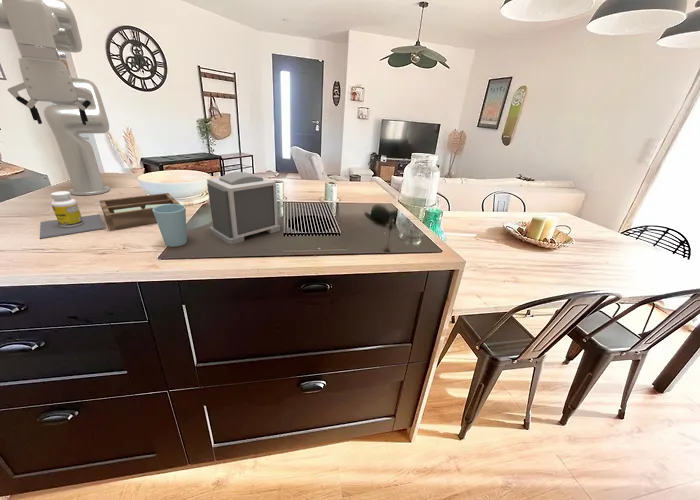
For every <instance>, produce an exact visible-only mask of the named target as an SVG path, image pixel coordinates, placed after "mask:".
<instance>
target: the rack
mask: <svg viewBox="0 0 700 500" xmlns="http://www.w3.org/2000/svg"><path fill="white" fill-rule="evenodd" d="M99 204H100V208H101V211H102V214H103V216H104V219H105V221H106V224H107V226H108V228H109V230H110V232H114V231H119V230H126V229H132V228H139V227H144V226H150V225H156V224H157V221H156V218H155V216H154V213H153V208H147V209H145V206H146V205H157V204H180V205H182V204H181V203H180V202H179V201H178V200H177V199H176V198H174V197H173V196H172V195H171V194H170V193H169V192H166V193H157V194H148V195H138V196H129V197H121V198H120V197H119V198H110V199H103V200H99ZM134 207H141V208H142V209H139V210H132V211H124V212H117V213H114V210H119V209H126V208H134ZM157 225H158V224H157Z"/></svg>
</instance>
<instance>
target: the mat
mask: <svg viewBox="0 0 700 500" xmlns="http://www.w3.org/2000/svg"><path fill="white" fill-rule="evenodd" d="M81 217H82V220H83V224H81V225H79V226H75V227H61V226H60V225H59V223H58V220H57V219H53V220H45V221H40V225H39V227H40V228H39V239H40V240H45V239H50V238H55V237H56V238H57V237H63V236H69V235H75V234H81V233H88V232H93V231H99V230H105V229H106V227H105V225H104V222H103V219H102V216H101V214H98V213H97V214H90V215H83V216H82V215H81Z"/></svg>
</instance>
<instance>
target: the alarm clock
mask: <svg viewBox="0 0 700 500" xmlns="http://www.w3.org/2000/svg"><path fill="white" fill-rule="evenodd" d="M206 181H207V182H206V186H207V193H208V199H209V205H210V213H211V214H210V215H211V220H212V225H211V226H210V227H209V231H210V233H211V234H212V235H213V236H215V237H217V238H218V239H220V240H221V241H223V242H225V244H227V245H235V244H239V243H243V242H245V237H247V236H250V235H255V234H258V233H261V232H266V233H269V234H274V233H277V232H280V231H281V224H279V223H278V204H277V203H278V200H277V197H278V196H277V181H274V180H272V179H269V178H266V177H263V176H260V175H258V174H254V173H249V172H243V171H234V172H230V173H226V174H223V175H222V176H220V177H212V178H206Z"/></svg>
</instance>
